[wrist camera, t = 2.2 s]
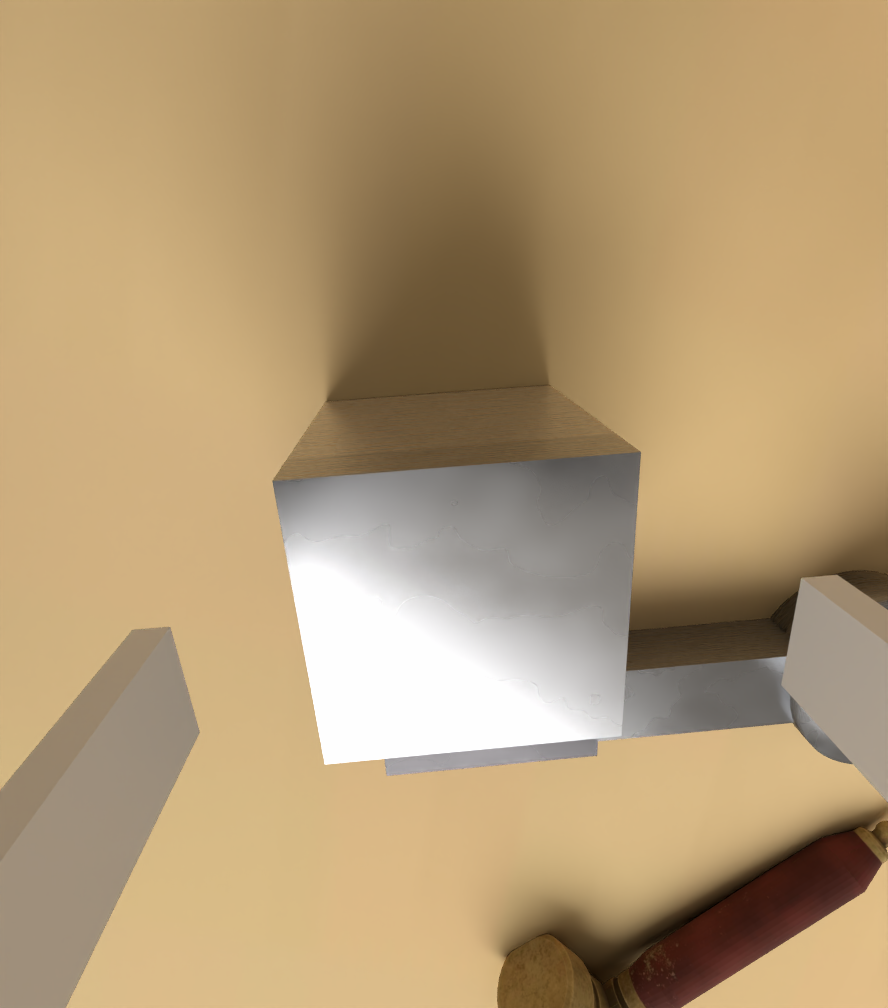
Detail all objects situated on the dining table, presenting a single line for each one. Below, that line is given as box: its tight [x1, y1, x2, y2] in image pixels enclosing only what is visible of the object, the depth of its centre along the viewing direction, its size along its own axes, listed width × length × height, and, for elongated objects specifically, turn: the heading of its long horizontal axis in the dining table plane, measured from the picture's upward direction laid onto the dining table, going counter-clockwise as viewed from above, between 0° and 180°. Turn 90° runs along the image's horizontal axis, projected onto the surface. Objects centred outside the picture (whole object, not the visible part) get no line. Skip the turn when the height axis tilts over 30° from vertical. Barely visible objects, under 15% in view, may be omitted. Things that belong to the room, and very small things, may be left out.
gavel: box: [497, 821, 888, 1008], centre depth 29 cm, size 21×5×10 cm
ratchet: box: [385, 570, 888, 776], centre depth 20 cm, size 22×7×8 cm, turn 93°
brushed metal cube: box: [273, 385, 641, 764], centre depth 17 cm, size 8×8×8 cm
